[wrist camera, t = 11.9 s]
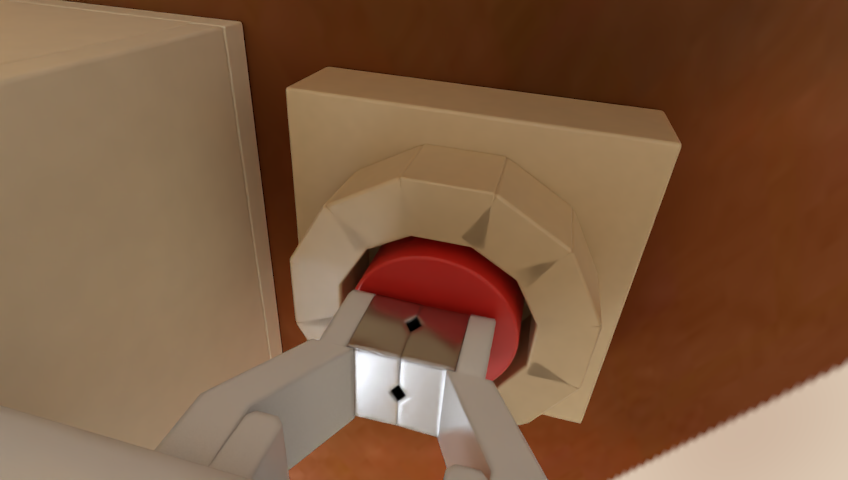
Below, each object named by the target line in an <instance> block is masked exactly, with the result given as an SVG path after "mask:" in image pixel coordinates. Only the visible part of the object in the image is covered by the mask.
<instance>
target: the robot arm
mask: <svg viewBox="0 0 848 480" xmlns="http://www.w3.org/2000/svg"><path fill="white" fill-rule="evenodd" d="M495 325H496V321H495V319H493V318H487V317H482V316H477V315H472V314H471V316H470V315H469V314H464V313H459V312H454V311H449V310H444V309H440V308H435V307H430V306H425V305H421V304H417V303H413V302H408V301H404V300H400V299H396V298H391V297H387V296H383V295H379V294H377V295H376V294H373V293H369V292H364V291H360V290H356V289H354V290H352V291H351V292H349V293H348V295H347V297H346V298H345V300H344V301H343V303H342V305H341V306H340V308H339V309H338V311H337V312H336V314H335V316H334V317H333V319H332V320H331V322H330V324H329V325H328V327H327V328H326V330H325V332H324V333H323V335H322V336H321V338H320V339H319V340H316V339H310V340H308V341H306V342H304V343H302V344H300V345H298V346H296V347H294V348H292V349H290V350H288V351H286V352H284V353H282V354H280V355H278V356H276V357H274V358H272V359H270V360H268V361H266V362H264V363H262V364H260V365H257V366H255V367H253V368H251V369H249V370H247V371H245V372H243V373H241V374H239V375H237V376H235V377H233V378H231V379H229V380H227V381H225V382H223V383H221V384H219V385H217V386H215V387H213V388H211V389H209V390H207V391H205V392H203V393H201V394H200V395H199V396H198V397H197V399H196V400H195V401H194V402H193V404H192V405H191V406H190V407H189V408H188V410H187V411H186V412H185V413H184V415H183V416H182V417H181V418H180V419H179V421H178V422H177V423H176V424H175V426H174V427H173V428H172V429H171V430H170V432H169V433H168V434H167V435H166V436H165V438H164V439H163V440H162V441H161V443H160V444H159V445H158V446H157V447H156V449H155V450H150V449H147V448H143V447H140V446H137V445H133V444H130V443H127V442H123V441H120V440H116V439H113V438H110V437H106V436H103V435H99V434H96V433H93V432H89V431H86V430H82V429H79V428H76V427H72V426H69V425H65V424H62V423H59V422H55V421H52V420H48V419H45V418H42V417H38V416H35V415H31V414H28V413H25V412H21V411H18V410H15V409H11V408H8V407H4V406H1V405H0V480H290V479H289V472H288V470H290V469H291V468H292V467H293V466H295V465H296V464H297V463H298V462H300V461H301V460H302V459H303V458H305V457H306V456H307V455H309V454H310V453H311V452H312V451H314V450H315V449H316V448H317V447H319V446H320V445H321V444H322V443H324V442H325V441H326V440H328V439H329V438H330V437H331V436H333V435H334V434H335V433H336V432H338V431H339V430H340V429H341V428H343V427H344V426H345V425H346V424H348V423H349V422H350V421H352V420H353V419H354V416H358V417H363V418H367V419H371V420H376V421H380V422H384V423H389V424H393V425H396V424H397V426H401V427H404V428H407V429H411V430H414V431H418V432H421V433H425V434H428V435H432V436H435V437H438V442H439V445H440V448H441V451H442V454H443V457H444V461H445V464H446V467H447V469H446V471H445V475H444V479H443V480H548V479H547V477H546V476H545V474H544V472H543V470H542V468H541V467H540V465H539V463H538V461H537V459H536V458H535V456H534V454H533V452H532V450H531V449H530V447H529V445H528V443H527V441H526V440H525V438H524V436H523V434H522V432H521V431H520V429H519V427H518V425H517V423H516V422H515V420H514V418H513V416H512V415H511V413H510V411H509V409H508V407H507V406H506V404H505V402H504V400H503V398H502V397H501V395H500V393H499V391H498V389H497V388H496V386H495V384H494V382H493V381H491V380H487V379H485V378H486V372H487V367H488V362H489V357H490V351H491V346H492V341H493V335H494V330H495Z"/></svg>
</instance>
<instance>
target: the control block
mask: <svg viewBox="0 0 848 480" xmlns="http://www.w3.org/2000/svg"><path fill="white" fill-rule="evenodd" d="M286 100H287V112H288V124H289V135H290V147H291V159H292V171H293V183H294V194H295V206H296V218H297V230H298V242H299V245H298V246H297V248H296V249H295V251H294V253H293V254H292V256H291V257H290V271H291V281H292V291H293V301H294V311H295V320H296V321H297V322H296V323H297V325H298V327H299V328H300V330H301V331H302V332H303V334H304V335H305V337H306V338H307V341H308V340H310V339H316V340H319V339H320V338H321V336H322V335H323V333H324V332H325V330H326V328H327V327H328V325H329V324H330V322H331V320H332V319H333V317H334V316H335V314H336V312H337V311H338V309H339V308H340V306H341V305H342V303H343V301H344V300H345V298H346V297H347V295H348V293H349V292H351V291H352V290H354V289H355V288H356V286H357V284H358V282H359V281H360V279H361V278H362V276H363V274H364V273H365V271H366V270H367V268H368V266H369V265H370V263H371V262H372V260H373V258H374V257H375V255H376V254H377V252H378V250H379V249H380V247H381V246H382V245H383V244H386V243H389V242H392V241H396V240H399V239H402V238H405V237H409V236H415V237H420V238H425V239H431V240H436V241H441V242H446V243H452V244H457V245H462V246H467V247H472V248H473V249H474V250H476V251H477V252H478V253H480V254H481V255H483V256H484V257H485V258H487V259H488V260H489V261H491V262H492V263H493V264H495V265H496V266H498V267H499V268H500V269H502V270H503V271H504V272H506V273H507V274H509V275H510V276H511V277H513V278H514V279H515V280H517V282H518V285H519V287H520V289H521V291H522V294H523V296H524V298H525V299H524V306H523V314H522V321H521V329H520V337H519V344H518V349H517V352H516V355H515V357H514V359H513V361H512V363H511V364H510V365H509V367H508V368H507V369H506V370H505V372H503V373H502V374H501V375H500V376H499V377H498V378H496V379H495V380H493V382H494V384H495V386H496V388H497V389H498V391H499V393H500V395H501V397H502V398H503V400H504V402H505V404H506V406H507V407H508V409H509V411H510V413H511V415H512V416H513V418H514V420H515V422H516V423H517V425H523V424H525V423H529V422H531V421H532V420H534V419H535V418H537V417H538V416H540V415H541V414H543V415H547V416H551V417H555V418H559V419H563V420H568V421H572V422H576V423H581V422H582V420H583V417H584V414H585V411H586V409H587V406H588V403H589V400H590V398H591V395H592V392H593V389H594V386H595V384H596V381H597V378H598V375H599V373H600V370H601V367H602V364H603V362H604V359H605V356H606V353H607V351H608V348H609V345H610V342H611V340H612V337H613V334H614V331H615V329H616V326H617V323H618V320H619V318H620V315H621V312H622V309H623V306H624V304H625V301H626V298H627V295H628V293H629V290H630V287H631V284H632V282H633V279H634V276H635V273H636V271H637V268H638V265H639V262H640V260H641V257H642V254H643V251H644V249H645V246H646V243H647V240H648V238H649V235H650V232H651V229H652V226H653V224H654V221H655V218H656V215H657V213H658V210H659V207H660V204H661V202H662V199H663V196H664V193H665V191H666V188H667V185H668V182H669V180H670V177H671V174H672V171H673V169H674V166H675V163H676V160H677V158H678V155H679V152H680V149H681V142H680V140H679V138H678V137H677V135H676V133H675V131H674V129H673V127H672V126H671V124H670V122H669V120H668V118H667V117H666V115H665V113H664V112H663V111H662V110H654V109H647V108H639V107H632V106H624V105H616V104H609V103H601V102H594V101H586V100H578V99H571V98H563V97H556V96H548V95H540V94H533V93H525V92H518V91H510V90H502V89H495V88H487V87H480V86H472V85H464V84H457V83H449V82H442V81H434V80H426V79H419V78H411V77H404V76H396V75H388V74H381V73H373V72H366V71H358V70H350V69H343V68H335V67H326V68H324V69H322V70H320V71H318V72H316V73H314V74H312V75H310V76H308V77H306V78H304V79H302V80H300V81H298V82H296V83H294V84H293V85H291V86H289V87H287V88H286Z"/></svg>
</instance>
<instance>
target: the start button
mask: <svg viewBox="0 0 848 480" xmlns="http://www.w3.org/2000/svg"><path fill="white" fill-rule="evenodd" d="M355 289H356V290H360V291H364V292H369V293H373V294H376V295H377V294H379V295H383V296H387V297H391V298H396V299H400V300H404V301H408V302H413V303H417V304H421V305H425V306H430V307H435V308H440V309H444V310H449V311H454V312H459V313H464V314H469V315H470V316H471V314H472V315H477V316H482V317H487V318H493V319H495V321H496V325H495V330H494V335H493V341H492V346H491V351H490V357H489V362H488V367H487V372H486V378H485V379H487V380H491V381H493V380H495V379H496V378H498V377H499V376H500V375H501V374H502V373H503V372H505V370H506V369H507V368H508V367H509V365H510V364H511V363H512V361H513V359H514V357H515V355H516V352H517V349H518V344H519V337H520V329H521V321H522V314H523V306H524V299H525V298H524V296H523V294H522V291H521V289H520V287H519V285H518V282H517V280H515V279H514V278H513V277H511V276H510V275H509V274H507V273H506V272H504V271H503V270H502V269H500V268H499V267H498V266H496V265H495V264H493V263H492V262H491V261H489V260H488V259H487V258H485V257H484V256H483V255H481V254H480V253H478V252H477V251H476V250H474V249H473V248H472V247H467V246H462V245H457V244H452V243H446V242H441V241H436V240H431V239H425V238H420V237H415V236H409V237H405V238H402V239H399V240H396V241H392V242H389V243H386V244H383V245H382V246H381V247H380V249H379V250H378V252H377V254H376V255H375V257H374V258H373V260H372V262H371V263H370V265H369V266H368V268H367V270H366V271H365V273H364V274H363V276H362V278H361V279H360V281H359V282H358V284H357V286H356V288H355Z"/></svg>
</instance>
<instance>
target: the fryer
mask: <svg viewBox="0 0 848 480" xmlns="http://www.w3.org/2000/svg"><path fill="white" fill-rule="evenodd" d="M280 354H282V345H281V337H280V329H279V320H278V312H277V304H276V296H275V288H274V280H273V271H272V263H271V255H270V247H269V239H268V231H267V223H266V214H265V206H264V198H263V190H262V182H261V174H260V165H259V157H258V149H257V141H256V133H255V125H254V117H253V108H252V100H251V92H250V84H249V76H248V68H247V60H246V51H245V43H244V35H243V27H242V23H241V22H239V21H231V20H222V19H214V18H206V17H197V16H189V15H180V14H172V13H163V12H155V11H146V10H138V9H129V8H121V7H112V6H104V5H96V4H87V3H79V2H70V1H62V0H0V405H1V406H4V407H8V408H11V409H15V410H18V411H21V412H25V413H28V414H31V415H35V416H38V417H42V418H45V419H48V420H52V421H55V422H59V423H62V424H65V425H69V426H72V427H76V428H79V429H82V430H86V431H89V432H93V433H96V434H99V435H103V436H106V437H110V438H113V439H116V440H120V441H123V442H127V443H130V444H133V445H137V446H140V447H143V448H147V449H150V450H155V449H156V447H157V446H158V445H159V444H160V443H161V441H162V440H163V439H164V438H165V436H166V435H167V434H168V433H169V432H170V430H171V429H172V428H173V427H174V426H175V424H176V423H177V422H178V421H179V419H180V418H181V417H182V416H183V415H184V413H185V412H186V411H187V410H188V408H189V407H190V406H191V405H192V404H193V402H194V401H195V400H196V399H197V397H198V396H199V395H200V394H201V393H203V392H205V391H207V390H209V389H211V388H213V387H215V386H217V385H219V384H221V383H223V382H225V381H227V380H229V379H231V378H233V377H235V376H237V375H239V374H241V373H243V372H245V371H247V370H249V369H251V368H253V367H255V366H257V365H260V364H262V363H264V362H266V361H268V360H270V359H272V358H274V357H276V356H278V355H280Z"/></svg>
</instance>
